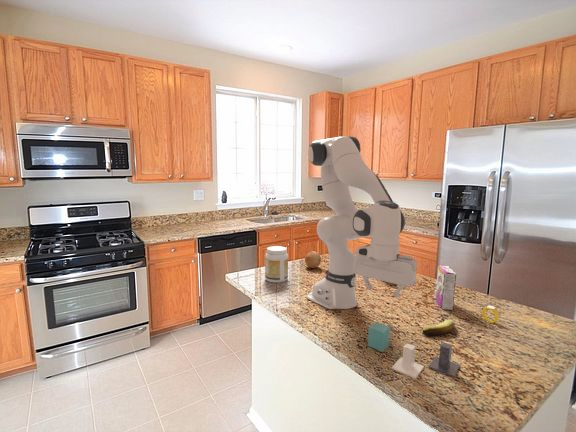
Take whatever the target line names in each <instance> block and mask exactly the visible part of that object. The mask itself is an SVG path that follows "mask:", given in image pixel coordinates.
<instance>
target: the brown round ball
mask: <svg viewBox="0 0 576 432" xmlns="http://www.w3.org/2000/svg"><path fill="white" fill-rule="evenodd" d="M304 263H305V265H306V266H307V267H308V268H311V269H315V268H318V267H319V266H321V263H322V257H321V255H320V254H319V252H317V251H315V250H311V251H309V252H308V253H307V254H306V255H305V257H304Z"/></svg>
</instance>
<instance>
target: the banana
mask: <svg viewBox="0 0 576 432" xmlns="http://www.w3.org/2000/svg"><path fill="white" fill-rule="evenodd" d="M441 321H442V322H441V323H438V324H437V325H430V326H429V325H428V326H426V327H424V328H423V329H422V330H421V331H422V332H421V333H422V334H424V335H426V336H428V337H440V336H443V335H446V334H448V333H450V332H451V331H452V330H453V329H454V327H455V322H454V321H453V320H451V319H445V318H444V317H441ZM386 326H389V327H390V332H394V333H396V334H398V335H400V333H402V334H404V335H406V332H405V331H402V330H396V329H397V326H393V325H391V324H387V325H386ZM480 333H481V334H482V333H483V331H481V332H480ZM482 337H483V335H480V338H481V339H482ZM416 342H417V343H422V344H423V342H424V341H422V340H419V341H418V340H416Z"/></svg>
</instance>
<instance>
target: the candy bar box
mask: <svg viewBox="0 0 576 432" xmlns="http://www.w3.org/2000/svg"><path fill="white" fill-rule="evenodd" d="M436 275H437V276H436V288H435V289H436V291H435V301H436V302H437V304H438V305H439V307H440V309H441V310H443V311H444V310H447V311H454V305H455V303H454V302H455V291H456V280H457V279H456V278H457V273H456V272H455V271H454V270H453V268H452V267H450V265H443V264H442V265H440V264H439V265H437V274H436Z"/></svg>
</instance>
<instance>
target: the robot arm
mask: <svg viewBox="0 0 576 432" xmlns="http://www.w3.org/2000/svg"><path fill="white" fill-rule="evenodd" d="M361 150H362V149H361V144H360V141H359V139H358V138H357V137H355V136H352V135H351V136H349V135H347V136H346V135H342V136H334V137H331V138H329V137H328V138H326V139H320V140H319V139H318V140H314V141H312V142H310V144H309V146H308V150H307V151H308V152H307V153H308V154H307V155H308V156H307V157H308V159H309V161H310V163H311V164H312V165H313V166H316V167H320V181H321V188H322V192H323V197H324V202H325V205H326V206H327V207H328V208H330V209H331V210H333V211H334V213H335V215H330V216H327V217H323V218H321V219H320V220H319V221H318V222H317V225H316V234H317V236H318V238H319V239H320V240H321V241H322V242H323V243H325V245H326V248H327V251H328V257H329V262H328V263H329V264H328V267H329V268H328V269H327V270H326V271H324V272H323V275H325V277H324V278H322V279H320V280H319V281H317V282H315V284H313V286H312V291H311V292H309V293H308V294H307V297H306V299H308V300H310V301H311V302H313V303H316V304H318V305H320V306H322V307H324V308H326V309H328V310H338V309H339V310H347V309H348V310H349V309H353V308H355V307H356V306H357V305H358V302H357V297H356V290H355V289H356V288H355V286H356V278H357V277H356V275H357V276H361V277H362V280H363V281H364V282H363V283H364V284H365V290H367V291H372V289H373V284H372V283H370V280H369V279H374V280H378V281H382V282H385V283H389V284H390V283H391V284H394V285H396V288H398V289H397V290H393V292H392V294H393V295H392V297H393V298H398V299H399V298H400V293H401V291H402V290H403V288H404V287H406V288H412V287H413V286H415V285H416V283H417V269H418V262H417V260H416V259H415V258H413V257H412V256H410V255H404V254H400V239H399V236H400V235H401V233H402V232H403V230H404V228H405V226H406V218H405V216H404V213H403V212H402V211H401V208H400V205H399V204H397V202H395V201H393V199H392V197H391V196H390V194H389V193H388V190H387V189H386V187H385V185H384V184H383V183H382V181H381V179H380V177H379V176H378V175H377V174H376V173H375V172H373V171H372V170H371V168H370V167H369V166H368V165H367V164H366V162H365V161H364V159H363V157H362V155H361ZM349 187H354V188H356V189H359V190H362V191H364V192H365V193H367V194H368V195H370V197H371V199H372V201H373V205H371V206H368V207H367V208H363V209H362V208H361V209H358V208H357V206H356V205H355V203H354V202H353V199H352V197H351V192H350V188H349ZM363 237H365V238H368V237H370V238H371V240H370V244H366V245H363V246H362V245H361V246H359V247H357V248H356V250H355V252H356V254H355V253H354V251H352V250H351V249H349V247H348V241H353V240H359V239H361V238H363Z"/></svg>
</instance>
